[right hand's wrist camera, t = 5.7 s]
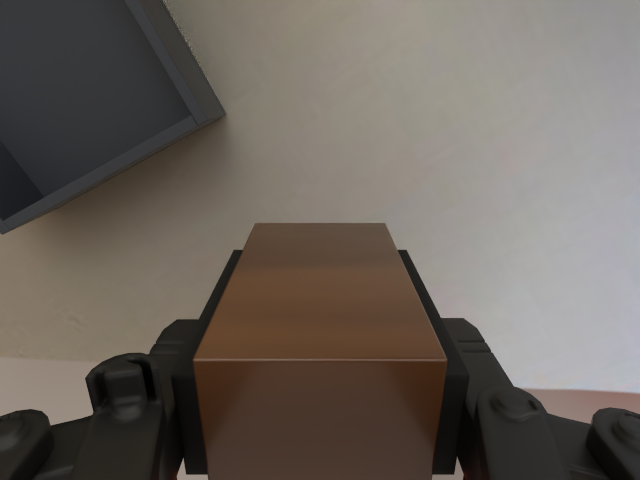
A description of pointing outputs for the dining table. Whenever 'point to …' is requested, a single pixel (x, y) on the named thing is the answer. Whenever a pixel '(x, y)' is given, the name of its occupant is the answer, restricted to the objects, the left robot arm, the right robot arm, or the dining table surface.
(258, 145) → the dining table surface
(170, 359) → the right robot arm
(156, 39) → the grey tray
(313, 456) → the walnut block
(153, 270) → the dining table surface
